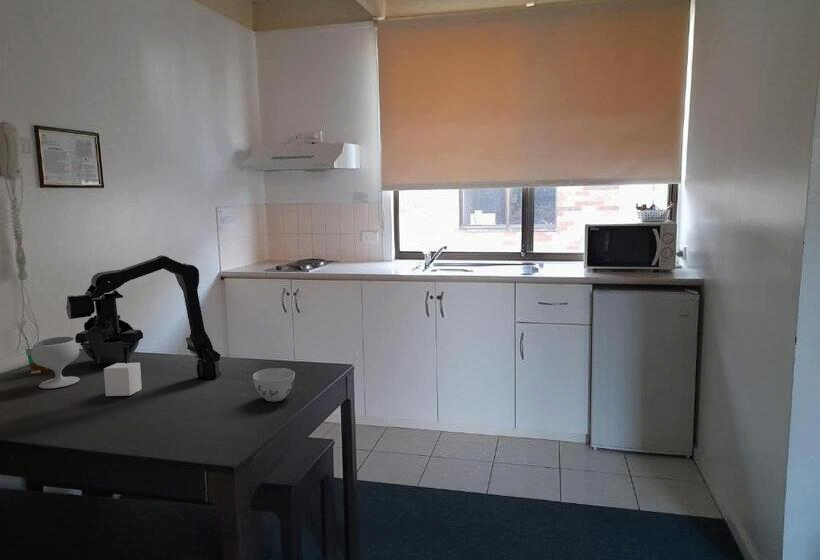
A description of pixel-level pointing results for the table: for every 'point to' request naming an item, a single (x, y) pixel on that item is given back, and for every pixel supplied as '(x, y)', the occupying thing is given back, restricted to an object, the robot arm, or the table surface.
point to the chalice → (56, 359)
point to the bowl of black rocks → (110, 344)
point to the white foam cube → (122, 379)
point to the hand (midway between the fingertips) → (112, 363)
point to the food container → (34, 367)
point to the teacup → (274, 383)
